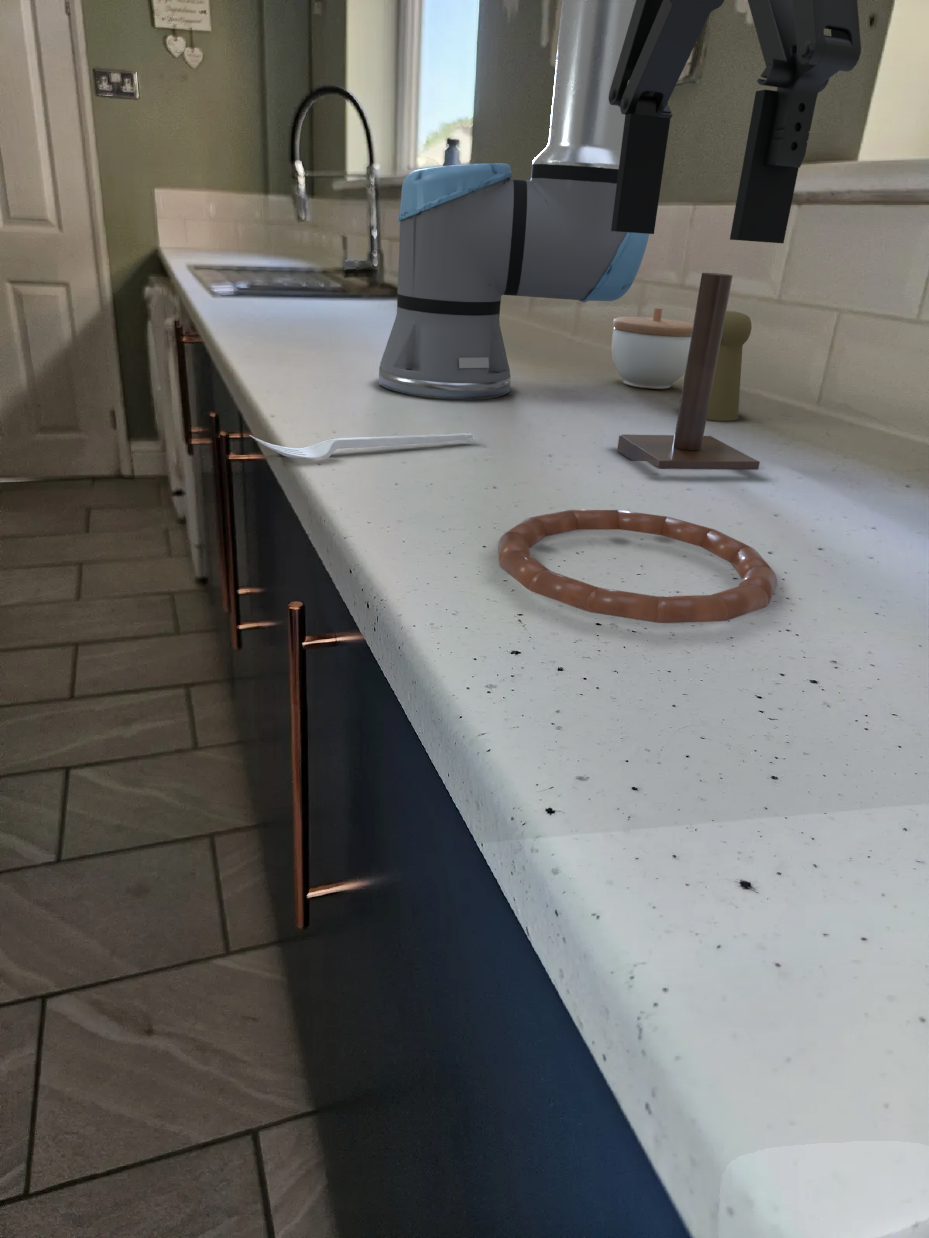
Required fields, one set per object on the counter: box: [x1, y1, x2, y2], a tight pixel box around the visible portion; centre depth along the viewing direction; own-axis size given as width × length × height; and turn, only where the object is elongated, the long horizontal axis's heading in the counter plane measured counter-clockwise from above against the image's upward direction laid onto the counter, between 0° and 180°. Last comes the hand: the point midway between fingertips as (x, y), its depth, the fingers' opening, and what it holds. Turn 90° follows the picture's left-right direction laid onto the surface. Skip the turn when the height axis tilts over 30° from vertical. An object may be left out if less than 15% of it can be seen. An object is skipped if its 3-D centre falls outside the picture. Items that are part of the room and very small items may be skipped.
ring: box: [497, 509, 778, 624], centre depth 50 cm, size 16×16×2 cm
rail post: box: [616, 272, 761, 470], centre depth 73 cm, size 9×9×16 cm
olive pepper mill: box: [706, 309, 753, 422], centre depth 95 cm, size 6×6×11 cm
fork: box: [249, 432, 474, 459], centre depth 72 cm, size 3×20×2 cm, turn 122°
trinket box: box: [611, 307, 694, 390], centre depth 111 cm, size 11×11×9 cm
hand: (687, 237), depth 50 cm, fingers open, 13 cm apart
